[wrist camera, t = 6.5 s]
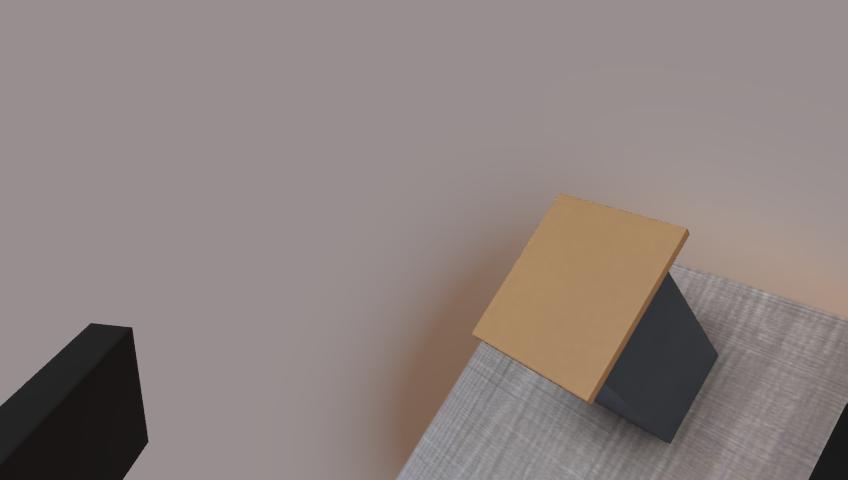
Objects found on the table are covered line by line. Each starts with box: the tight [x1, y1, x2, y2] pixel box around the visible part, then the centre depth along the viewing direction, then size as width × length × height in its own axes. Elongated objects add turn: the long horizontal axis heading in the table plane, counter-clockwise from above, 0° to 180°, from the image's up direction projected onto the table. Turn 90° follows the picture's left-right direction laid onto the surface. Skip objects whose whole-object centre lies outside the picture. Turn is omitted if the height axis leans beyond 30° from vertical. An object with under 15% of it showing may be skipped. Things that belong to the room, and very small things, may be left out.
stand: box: [472, 193, 718, 444], centre depth 36 cm, size 10×8×16 cm
